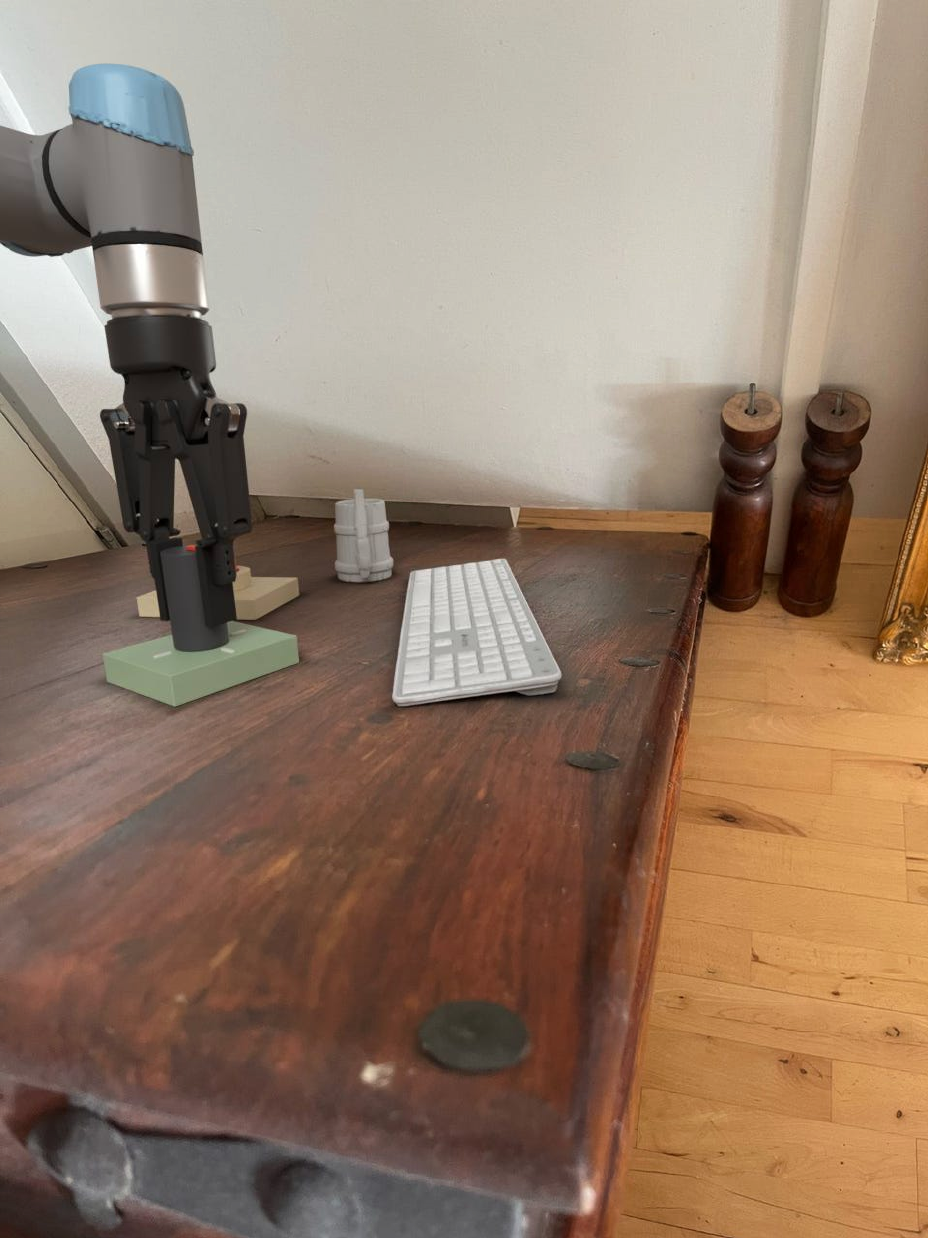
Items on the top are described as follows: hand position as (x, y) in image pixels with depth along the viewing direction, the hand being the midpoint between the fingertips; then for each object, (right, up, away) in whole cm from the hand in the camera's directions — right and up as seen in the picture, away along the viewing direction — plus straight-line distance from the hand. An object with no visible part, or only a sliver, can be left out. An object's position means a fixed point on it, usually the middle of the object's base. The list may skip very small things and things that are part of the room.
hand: (198, 619), depth 62 cm
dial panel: (0, -4, +1) cm, 5 cm away
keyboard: (+22, -1, +13) cm, 26 cm away
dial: (0, -2, +1) cm, 2 cm away
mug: (+9, +5, +35) cm, 36 cm away
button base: (-6, +2, +24) cm, 25 cm away
